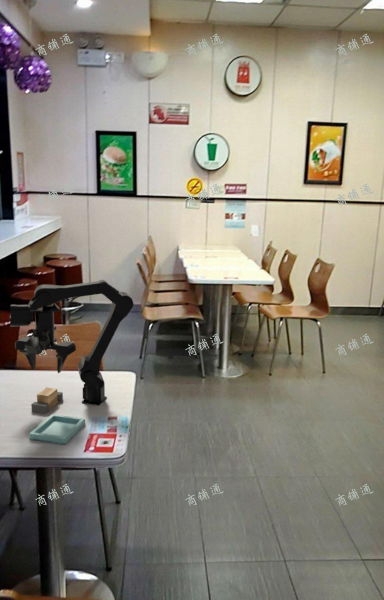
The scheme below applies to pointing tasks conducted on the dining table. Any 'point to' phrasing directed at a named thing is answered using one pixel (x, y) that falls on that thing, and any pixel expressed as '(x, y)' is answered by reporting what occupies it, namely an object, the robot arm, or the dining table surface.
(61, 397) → the pair of grey blocks
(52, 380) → the dining table surface
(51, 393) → the wooden block
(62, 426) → the teal tray
